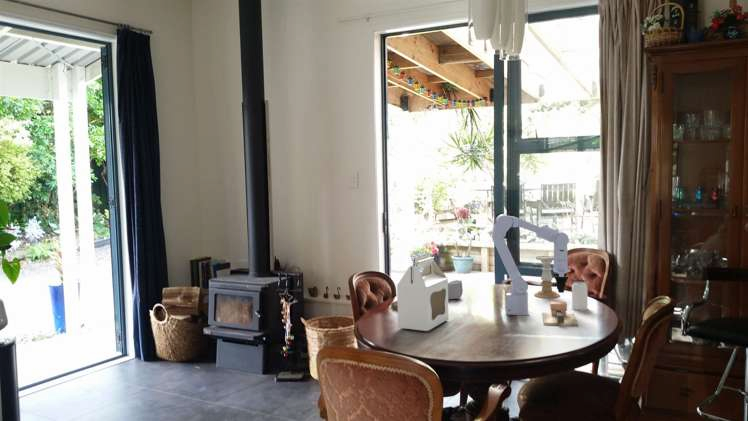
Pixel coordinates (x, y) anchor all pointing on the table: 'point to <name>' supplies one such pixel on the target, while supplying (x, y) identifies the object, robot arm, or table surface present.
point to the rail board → (559, 319)
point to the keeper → (558, 307)
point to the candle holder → (546, 279)
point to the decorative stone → (455, 289)
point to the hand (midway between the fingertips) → (560, 290)
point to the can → (579, 296)
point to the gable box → (422, 296)
